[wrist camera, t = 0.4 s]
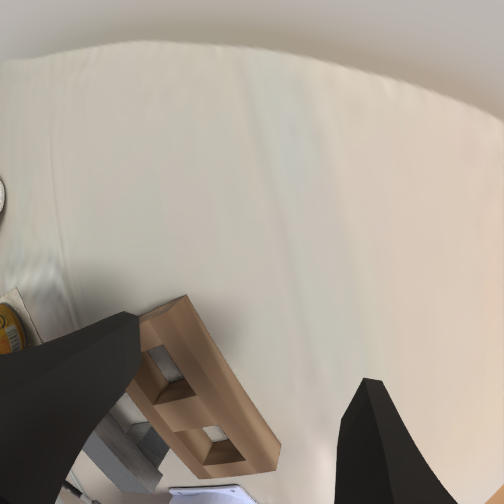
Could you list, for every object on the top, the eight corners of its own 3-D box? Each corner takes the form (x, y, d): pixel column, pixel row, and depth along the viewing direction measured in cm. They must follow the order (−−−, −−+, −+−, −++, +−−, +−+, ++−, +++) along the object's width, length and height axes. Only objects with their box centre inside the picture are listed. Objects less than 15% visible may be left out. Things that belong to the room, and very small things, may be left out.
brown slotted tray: (209, 456, 25) (199, 479, 22) (116, 326, 24) (94, 343, 21) (281, 444, 23) (275, 470, 20) (186, 294, 21) (167, 311, 19)
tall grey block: (150, 449, 27) (122, 491, 21) (85, 362, 26) (43, 398, 20) (179, 446, 26) (152, 493, 20) (111, 353, 24) (65, 393, 18)
